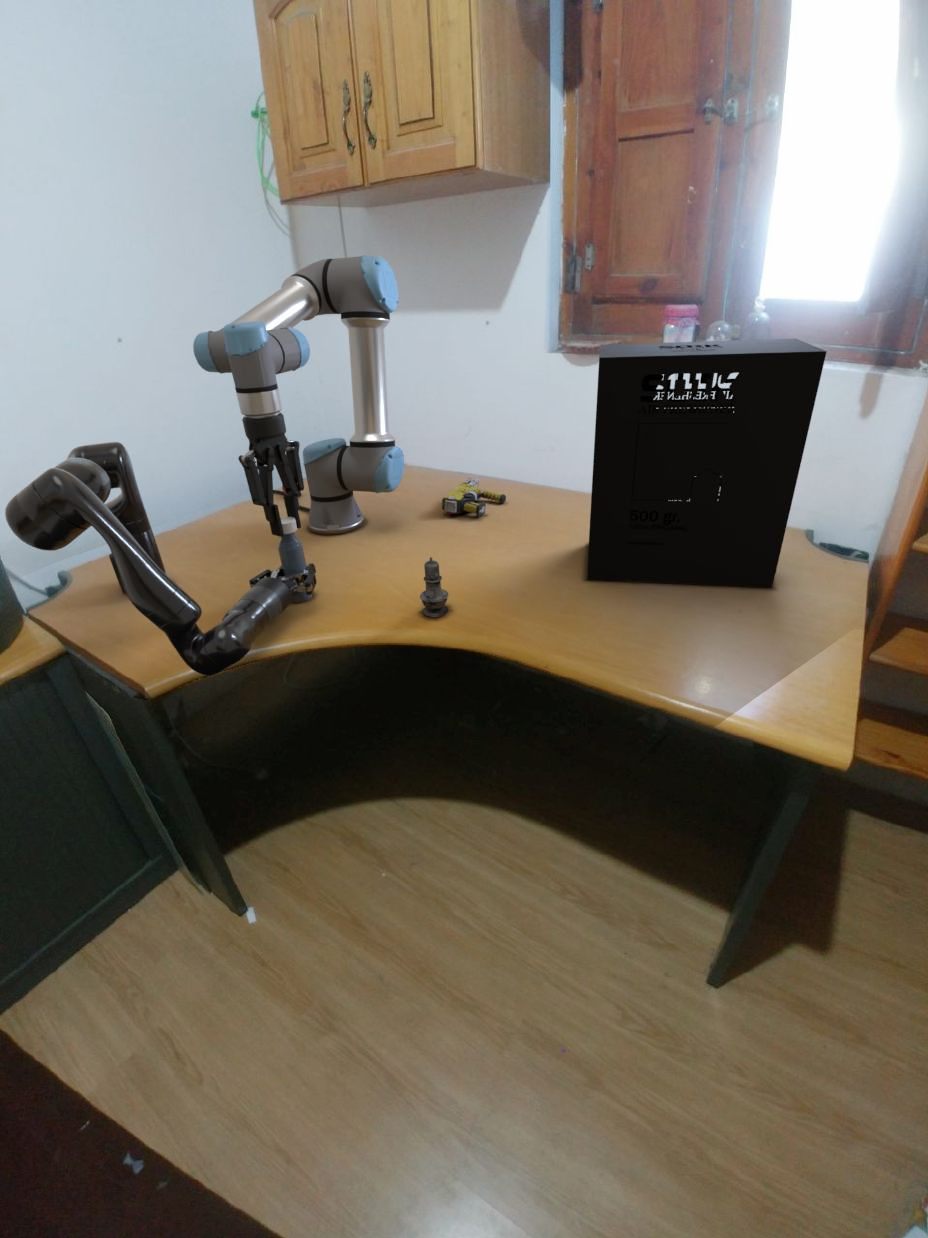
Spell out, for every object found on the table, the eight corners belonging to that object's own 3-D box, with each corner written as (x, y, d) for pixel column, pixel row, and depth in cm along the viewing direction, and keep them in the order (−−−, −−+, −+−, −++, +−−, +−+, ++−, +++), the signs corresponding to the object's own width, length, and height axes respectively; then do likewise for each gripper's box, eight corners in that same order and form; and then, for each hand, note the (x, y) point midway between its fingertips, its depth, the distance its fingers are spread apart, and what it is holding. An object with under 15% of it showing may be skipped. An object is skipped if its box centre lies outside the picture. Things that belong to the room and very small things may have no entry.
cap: (300, 530, 124) (298, 520, 123) (280, 536, 122) (278, 525, 121) (292, 525, 127) (290, 515, 126) (273, 530, 125) (270, 520, 124)
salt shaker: (446, 618, 120) (442, 563, 114) (417, 616, 122) (412, 562, 116) (452, 604, 125) (448, 551, 119) (425, 602, 126) (420, 550, 120)
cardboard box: (752, 548, 142) (795, 338, 119) (772, 587, 124) (826, 351, 102) (589, 543, 149) (600, 344, 127) (586, 579, 132) (599, 357, 110)
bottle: (303, 603, 129) (288, 529, 121) (284, 600, 131) (267, 527, 123) (316, 593, 133) (302, 520, 125) (298, 590, 135) (282, 518, 127)
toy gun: (514, 482, 184) (468, 475, 188) (491, 505, 164) (440, 497, 168) (513, 497, 186) (467, 490, 190) (490, 522, 166) (439, 513, 170)
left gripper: (293, 588, 114) (328, 552, 128) (225, 585, 117) (267, 549, 131) (301, 622, 118) (334, 583, 132) (234, 618, 120) (274, 580, 135)
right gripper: (282, 404, 121) (304, 514, 132) (211, 422, 108) (241, 542, 120) (309, 406, 117) (329, 520, 129) (238, 425, 105) (267, 549, 117)
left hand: (300, 566), depth 131 cm, fingers closed on bottle, 5 cm apart
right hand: (286, 530), depth 124 cm, fingers closed on cap, 4 cm apart
